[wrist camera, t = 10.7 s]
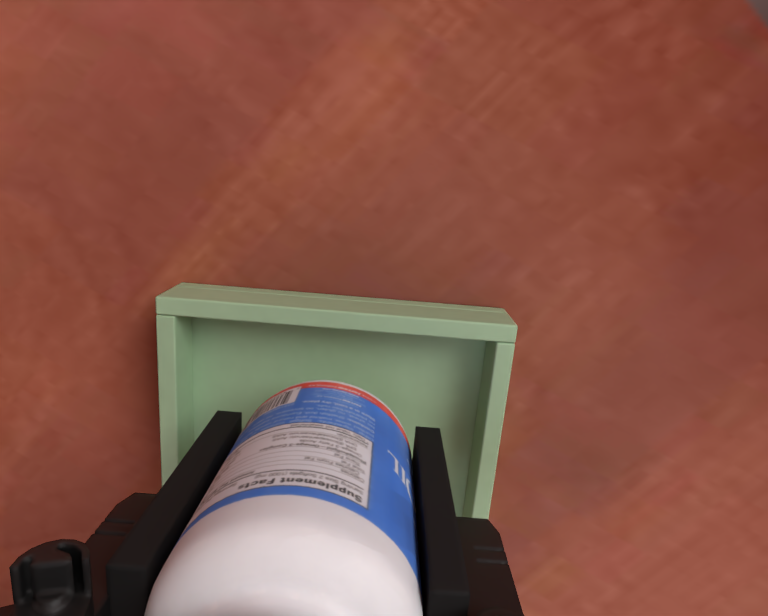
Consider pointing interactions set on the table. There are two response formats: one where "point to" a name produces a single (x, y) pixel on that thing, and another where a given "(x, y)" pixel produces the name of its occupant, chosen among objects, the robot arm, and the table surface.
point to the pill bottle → (303, 516)
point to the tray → (338, 367)
